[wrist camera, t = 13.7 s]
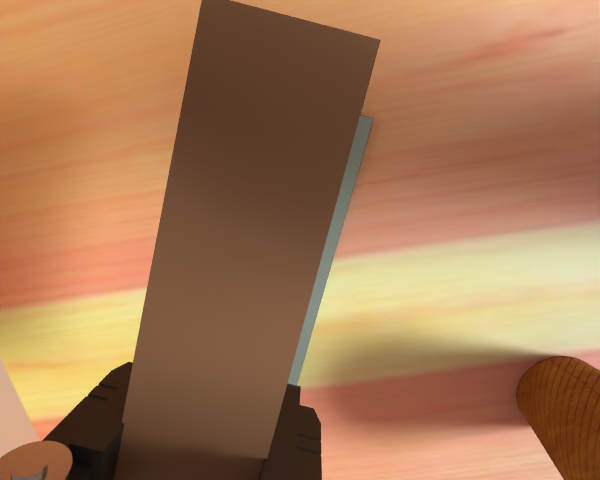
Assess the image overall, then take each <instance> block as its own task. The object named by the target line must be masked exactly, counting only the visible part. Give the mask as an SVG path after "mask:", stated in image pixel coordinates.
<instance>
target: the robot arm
mask: <svg viewBox="0 0 600 480" xmlns="http://www.w3.org/2000/svg"><path fill="white" fill-rule="evenodd" d="M132 366H133V363H132V362H127V363H126V364H124V365H122V366H120V367H118V368H116V369H114V370H112V371H111V372H110V373H109V374H108V375H107V376H106V377H105V378H104V379H103V380H102V381H101V382H100V383H99V385H98V386H96V387H95V388H94V389H93V390H92V391H91V392H90V393H89V394H88V396H87V397H85V398H84V399H83V400H82V401H81V402H80V403H79V404H78V405H77V406H76V407H75V408H74V409H73V410H72V411H71V412H70V413H69V414H68V415H67V416H66V417H65V418H64V419H63V420H62V421H61V422H60V423H59V424H58V425H57V426H56V427H55V428H54V429H53V430H52V431H51V432H50V433H49V434H48V435H47V436H46V437H45V438H44V439H43V440H42V441H37V442H33V443H29V444H26V445H23V446H20V447H18V448H16V449H14V450H12V451H10V452H8V453H7V454H5V455H4V456H2V457H1V458H0V480H114V475H115V470H116V465H117V459H118V454H119V449H120V444H121V439H122V433H123V428H124V423H122V418H123V413H124V408H125V402H126V397H127V392H128V387H129V381H130V376H131V371H132ZM300 389H301V388H300V386H296V385H292V384H288V383H287V387H286V391H285V395H284V398H283V402H282V406H281V409H280V413H279V417H278V420H277V424H276V428H275V431H274V435H273V439H272V443H271V446H270V450H269V454H268V457H267V459H265V458H264V461H263V465H262V469H261V473H260V476H259V480H322V468H321V423H320V421H319V419H318V417H317V414H316V412H315V410H314V409H313V408H309V407H305V406H301V405H299V404H300Z"/></svg>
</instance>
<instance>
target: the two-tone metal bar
mask: <svg viewBox="0 0 600 480" xmlns="http://www.w3.org/2000/svg"><path fill="white" fill-rule="evenodd" d="M379 44H380V40H378V39H375V38H371V37H367V36H363V35H359V34H356V33H352V32H348V31H344V30H340V29H337V28H333V27H329V26H325V25H321V24H318V23H314V22H310V21H306V20H302V19H299V18H295V17H291V16H287V15H283V14H280V13H276V12H272V11H268V10H264V9H261V8H257V7H253V6H249V5H245V4H242V3H238V2H234V1H230V0H202V2H201V8H200V13H199V18H198V23H197V29H196V34H195V39H194V44H193V50H192V55H191V60H190V66H189V71H188V76H187V81H186V87H185V92H184V97H183V102H182V108H181V113H180V118H179V123H178V129H177V134H176V139H175V144H174V150H173V155H172V160H171V166H170V171H169V176H168V181H167V187H166V192H165V197H164V202H163V208H162V213H161V218H160V223H159V229H158V234H157V239H156V245H155V250H154V255H153V260H152V266H151V271H150V276H149V281H148V287H147V292H146V297H145V302H144V308H143V313H142V318H141V323H140V329H139V334H138V339H137V345H136V350H135V355H134V360H133V366H132V371H131V376H130V381H129V387H128V392H127V397H126V402H125V408H124V413H123V418H122V423H124V428H123V433H122V439H121V444H120V449H119V454H118V459H117V465H116V470H115V475H114V480H259V476H260V473H261V469H262V465H263V461H264V458H265V459H267V457H268V454H269V450H270V446H271V443H272V439H273V435H274V431H275V428H276V424H277V420H278V417H279V413H280V409H281V406H282V402H283V398H284V395H285V391H286V387H287V383H288V380H289V376H290V372H291V369H292V365H293V361H294V358H295V354H296V350H297V347H298V343H299V339H300V335H301V332H302V328H303V324H304V321H305V317H306V313H307V310H308V306H309V302H310V298H311V295H312V291H313V287H314V284H315V280H316V276H317V273H318V269H319V265H320V262H321V258H322V254H323V250H324V247H325V243H326V239H327V236H328V232H329V228H330V225H331V221H332V217H333V214H334V210H335V206H336V202H337V199H338V195H339V191H340V188H341V184H342V180H343V177H344V173H345V169H346V165H347V162H348V158H349V154H350V151H351V147H352V143H353V140H354V136H355V132H356V129H357V125H358V121H359V117H360V114H361V110H362V106H363V103H364V99H365V95H366V92H367V88H368V84H369V81H370V77H371V73H372V69H373V66H374V62H375V58H376V55H377V51H378V47H379Z"/></svg>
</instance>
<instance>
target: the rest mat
mask: <svg viewBox="0 0 600 480" xmlns="http://www.w3.org/2000/svg"><path fill="white" fill-rule="evenodd" d="M373 119H374V118H370V117H366V116H362V115H360V117H359V121H358V125H357V129H356V132H355V136H354V140H353V143H352V147H351V151H350V154H349V158H348V162H347V165H346V169H345V173H344V177H343V180H342V184H341V188H340V191H339V195H338V199H337V202H336V206H335V210H334V214H333V217H332V221H331V225H330V228H329V232H328V236H327V239H326V243H325V247H324V250H323V254H322V258H321V262H320V265H319V269H318V273H317V276H316V280H315V284H314V287H313V291H312V295H311V298H310V302H309V306H308V310H307V313H306V317H305V321H304V324H303V328H302V332H301V335H300V339H299V343H298V347H297V350H296V354H295V358H294V361H293V365H292V369H291V372H290V376H289V380H288V384H292V385H296V386H297V382H298V379H299V376H300V372H301V369H302V365H303V362H304V358H305V355H306V351H307V348H308V344H309V341H310V337H311V334H312V330H313V327H314V323H315V320H316V317H317V313H318V310H319V306H320V303H321V299H322V296H323V292H324V289H325V285H326V282H327V278H328V275H329V271H330V268H331V265H332V261H333V258H334V254H335V251H336V247H337V244H338V240H339V237H340V233H341V230H342V226H343V223H344V219H345V216H346V212H347V209H348V206H349V202H350V199H351V195H352V192H353V188H354V185H355V181H356V178H357V174H358V171H359V167H360V164H361V160H362V157H363V153H364V150H365V147H366V143H367V140H368V136H369V133H370V129H371V126H372V122H373Z"/></svg>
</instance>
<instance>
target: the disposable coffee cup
mask: <svg viewBox="0 0 600 480" xmlns="http://www.w3.org/2000/svg"><path fill="white" fill-rule="evenodd" d="M517 403H518V406H519V408H520V410H521V412H522V413H523V415H524V416H525V418H526V419H527V421H528V423H529V424H530V426H531V427H532V429H533V431H534V432H535V434H536V435H537V437H538V439H539V440H540V442H541V443H542V445H543V447H544V448H545V450H546V452H547V453H548V455H549V457H550V458H551V460H552V461H553V463H554V464H555V466H556V468H557V469H558V471H559V472H560V474H561V476H562V477H563V479H564V480H600V370H598V369H596V368H594V367H593V366H591V365H589V364H587V363H586V362H584V361H582V360H580V359H577V358H572V357H555V358H551V359H548V360H545V361H542V362H540V363H538V364H536V365H535V366H534V367H532V368H531V369H530V370H529V371H528V372H527V373H526V374H525V375H524V376H523V378H522V379H521V381H520V383H519V386H518V389H517Z"/></svg>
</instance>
